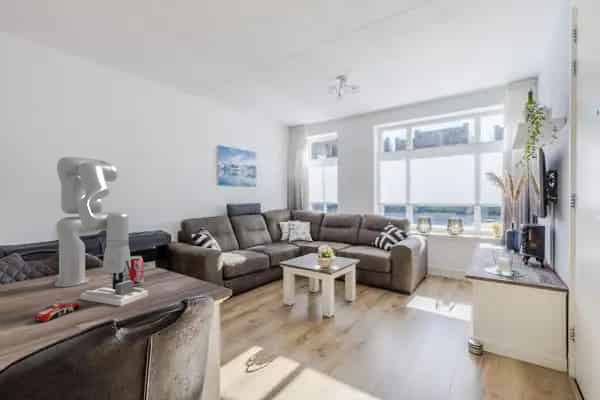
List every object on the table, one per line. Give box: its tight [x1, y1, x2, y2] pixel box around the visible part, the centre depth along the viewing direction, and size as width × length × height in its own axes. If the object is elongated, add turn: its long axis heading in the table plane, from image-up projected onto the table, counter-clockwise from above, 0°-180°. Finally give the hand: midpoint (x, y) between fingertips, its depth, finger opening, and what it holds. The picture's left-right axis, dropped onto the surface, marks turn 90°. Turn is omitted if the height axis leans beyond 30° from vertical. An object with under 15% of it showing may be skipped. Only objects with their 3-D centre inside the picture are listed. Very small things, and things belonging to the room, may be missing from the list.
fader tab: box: [115, 280, 135, 296], centre depth 112 cm, size 3×6×4 cm, turn 161°
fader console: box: [80, 283, 149, 307], centre depth 114 cm, size 22×12×3 cm, turn 71°
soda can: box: [125, 255, 144, 287], centre depth 130 cm, size 7×7×13 cm
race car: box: [34, 301, 80, 322], centre depth 97 cm, size 13×5×4 cm, turn 169°
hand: (117, 288), depth 113 cm, fingers closed
